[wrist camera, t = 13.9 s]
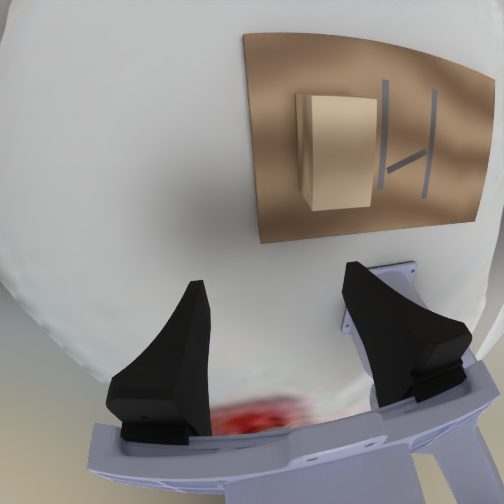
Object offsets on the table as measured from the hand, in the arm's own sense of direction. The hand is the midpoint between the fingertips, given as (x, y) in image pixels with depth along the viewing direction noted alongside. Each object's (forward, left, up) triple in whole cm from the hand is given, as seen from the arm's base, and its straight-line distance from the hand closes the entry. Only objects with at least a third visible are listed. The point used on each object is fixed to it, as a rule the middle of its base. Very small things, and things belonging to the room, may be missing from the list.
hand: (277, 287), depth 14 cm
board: (+5, -12, -10) cm, 16 cm away
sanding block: (+5, -5, -9) cm, 11 cm away
